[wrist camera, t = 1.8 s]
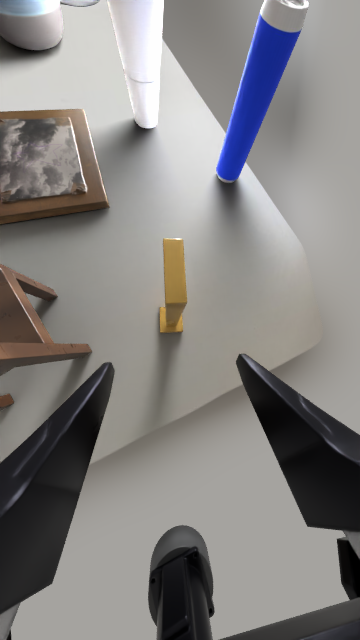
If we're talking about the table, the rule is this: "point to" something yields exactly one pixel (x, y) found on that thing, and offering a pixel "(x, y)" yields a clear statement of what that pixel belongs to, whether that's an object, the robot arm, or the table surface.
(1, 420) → the table surface
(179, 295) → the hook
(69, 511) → the robot arm
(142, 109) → the stacked toilet paper rolls
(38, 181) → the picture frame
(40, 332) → the brown legged wooden frame
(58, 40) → the vase
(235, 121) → the beverage can
